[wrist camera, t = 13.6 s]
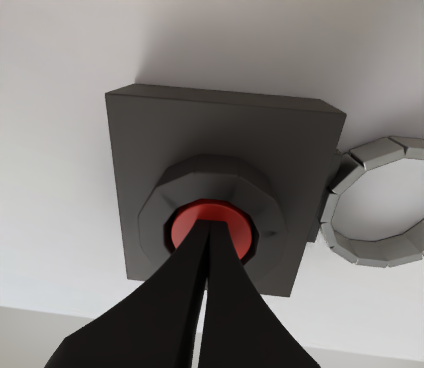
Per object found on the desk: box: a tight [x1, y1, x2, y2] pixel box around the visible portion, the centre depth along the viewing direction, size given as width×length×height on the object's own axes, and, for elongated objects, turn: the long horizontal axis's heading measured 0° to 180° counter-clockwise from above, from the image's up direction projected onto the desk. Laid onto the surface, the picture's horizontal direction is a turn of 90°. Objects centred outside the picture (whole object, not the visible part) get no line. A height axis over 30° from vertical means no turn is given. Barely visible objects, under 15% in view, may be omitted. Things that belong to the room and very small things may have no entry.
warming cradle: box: [307, 136, 424, 268], centre depth 15 cm, size 9×8×2 cm
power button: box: [171, 198, 252, 259], centre depth 12 cm, size 4×4×2 cm
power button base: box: [105, 84, 347, 297], centre depth 14 cm, size 10×11×6 cm
